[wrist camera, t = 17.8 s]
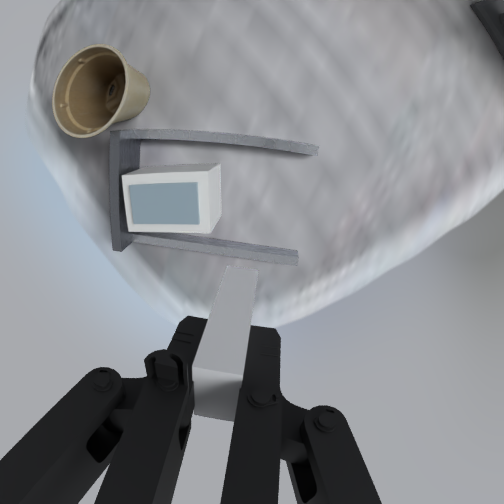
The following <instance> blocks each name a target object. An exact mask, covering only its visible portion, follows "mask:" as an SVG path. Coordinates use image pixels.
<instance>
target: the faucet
mask: <svg viewBox="0 0 504 504" xmlns="http://www.w3.org/2000/svg"><path fill="white" fill-rule="evenodd" d="M470 6H471V7H472V9H473V10H474V11H475V13H476V14H477V16H478V17H479V19H480V20H481V22H482V23H483V25H484V26H485V28H486V30H487V31H488V33H489V34H490V36H491V38H492V39H493V41H494V43H495V45H496V46H497V48H498V50H499V52H500V53H501V55H502V57H503V59H504V1H503V0H483V1H480V2H478V3H475V4H472V5H470Z"/></svg>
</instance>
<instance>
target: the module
mask: <svg viewBox="0 0 504 504" xmlns="http://www.w3.org/2000/svg"><path fill="white" fill-rule="evenodd" d="M122 184H123V193H124V202H125V210H126V217H127V224H128V231H129V232H177V233H211V232H212V230H213V229H214V227H215V225H216V224H217V222H218V220H219V219H220V217H221V215H222V211H221V175H220V163H214V164H182V165H162V166H147V167H143V168H141V169H138V170H135V171H132V172H130V173H127V174H124V175H122Z"/></svg>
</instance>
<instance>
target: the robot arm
mask: <svg viewBox="0 0 504 504" xmlns="http://www.w3.org/2000/svg"><path fill="white" fill-rule="evenodd" d="M258 271H259V270H258V269H251V268H244V267H237V266H231V265H227V267H226V270H225V273H224V276H223V279H222V281H221V284H220V287H219V290H218V293H217V296H216V298H215V301H214V304H213V307H212V310H211V313H210V315H209V318H208V319H204V318H198V317H193V316H187V317H186V318H184V319H183V320H182V321H181V322H179V325H178V327H177V329H176V331H175V333H174V335H173V338H172V341H171V342H170V344H169V346H168V348H167V350H165V349H163V350H158V351H154V352H152V353H151V354H149V355H148V356H147V357H146V358H145V359H144V362H145V367H146V372H147V376H146V377H143V378H121V376H120V374H119V373H118V372H116V371H115V370H114V369H111V368H107V367H100V368H96V369H93V370H92V371H90V372H89V373H88V374H86V375H85V377H83V378H82V379H81V380H80V381H79V382H78V383H77V384H76V385H75V386H74V387H73V388H72V389H71V390H70V391H69V392H68V393H67V394H66V395H65V396H64V397H63V398H62V399H61V400H60V401H59V402H58V403H57V404H56V405H55V406H54V407H52V408H51V409H50V411H48V413H46V414H45V416H44V417H43V418H41V419H40V420H39V421H38V422H37V423H36V424H35V425H34V426H33V428H31V429H30V430H29V432H28V433H27V434H26V435H25V436H24V437H23V438H22V439H21V440H20V441H19V442H18V443H17V444H16V445H15V446H14V447H13V448H12V449H11V450H10V451H9V452H8V453H7V454H6V455H5V456H4V457H3V458H2V459H1V460H0V504H78V503H79V501H80V500H81V499H82V498H83V496H84V495H85V494H86V493H87V491H88V490H89V489H90V488H91V486H92V485H93V484H94V483H95V481H96V480H97V479H98V478H99V476H100V475H101V474H102V473H103V471H104V470H105V469H106V467H107V466H108V465H109V464H110V465H109V467H108V470H107V472H106V475H105V477H104V480H103V482H102V485H101V487H100V490H99V492H98V495H97V498H96V500H95V503H94V504H171V501H172V498H173V494H174V490H175V486H176V482H177V478H178V475H179V471H180V467H181V464H182V460H183V456H184V452H185V448H186V444H187V441H188V437H189V434H190V430H191V417H192V414H193V410H194V414H195V415H199V416H204V417H209V418H215V419H220V420H226V421H233V422H234V426H233V433H232V439H231V444H230V450H229V456H228V462H227V469H226V474H225V480H224V485H223V491H222V497H221V503H220V504H278V492H279V472H280V459H283V460H285V461H286V463H287V467H288V470H289V474H290V478H291V482H292V485H293V489H294V493H295V497H296V500H297V504H382V503H381V501H380V498H379V496H378V493H377V491H376V489H375V486H374V484H373V481H372V479H371V477H370V474H369V472H368V470H367V467H366V465H365V462H364V460H363V458H362V455H361V453H360V451H359V448H358V446H357V444H356V441H355V439H354V437H353V434H352V432H351V430H350V428H349V425H348V423H347V420H346V418H345V417H344V415H343V414H342V413H341V412H340V411H339V410H337V409H336V408H334V407H330V406H316V407H313V408H312V409H310V410H307V409H304V408H301V407H298V406H296V405H294V404H292V403H290V402H289V401H287V400H286V399H285V397H284V396H283V395H282V393H281V391H280V348H281V344H280V343H281V338H280V336H279V334H278V332H277V330H276V329H274V328H267V327H260V326H253V325H251V319H252V313H253V306H254V299H255V292H256V285H257V278H258Z"/></svg>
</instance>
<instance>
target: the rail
mask: <svg viewBox="0 0 504 504" xmlns="http://www.w3.org/2000/svg"><path fill="white" fill-rule="evenodd" d="M141 139H171V140H190V141H204V142H217V143H228V144H237V145H247V146H255V147H263V148H270V149H278V150H284V151H291V152H297V153H303V154H309V155H315V156H317V155H318V148H319V146H317V145H312V144H306V143H300V142H294V141H287V140H281V139H274V138H266V137H258V136H250V135H241V134H231V133H219V132H206V131H190V130H164V129H129V130H118V131H110V156H109V192H110V219H111V234H112V247H113V250H114V251H120V252H122V251H123V250H124V249H125V248H126V247H127V246H128V245H130V244H131V243H132V242H138V243H145V244H151V245H158V246H165V247H171V248H178V249H185V250H191V251H198V252H205V253H212V254H219V255H225V256H232V257H239V258H246V259H253V260H260V261H267V262H274V263H281V264H288V265H295V266H297V263H298V259H299V257H298V251H297V250H290V249H283V248H276V247H269V246H262V245H255V244H248V243H241V242H234V241H227V240H220V239H213V238H206V237H199V236H191V235H184V234H177V233H170V232H129V231H128V224H127V217H126V210H125V202H124V193H123V184H122V175H124V174H127V173H130V172H132V171H135V170H138V169H139V161H140V140H141Z"/></svg>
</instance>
